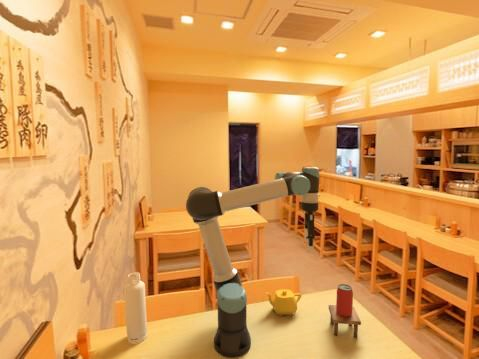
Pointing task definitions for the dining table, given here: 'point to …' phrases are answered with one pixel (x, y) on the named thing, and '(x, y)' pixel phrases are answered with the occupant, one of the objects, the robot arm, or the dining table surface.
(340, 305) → the beer can
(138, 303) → the bottle
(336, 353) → the dining table surface
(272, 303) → the teapot
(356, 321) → the stool
